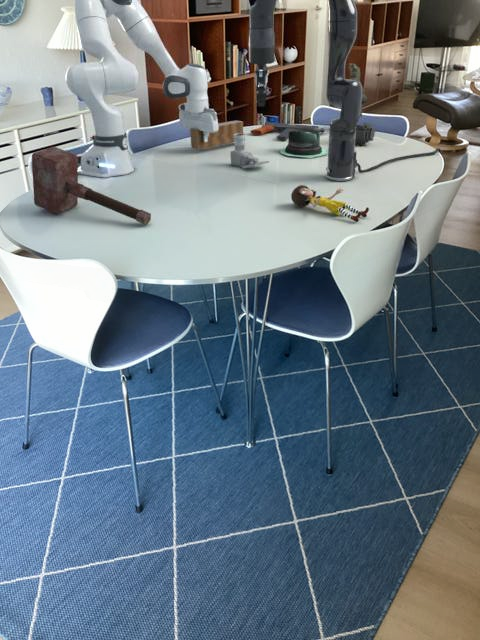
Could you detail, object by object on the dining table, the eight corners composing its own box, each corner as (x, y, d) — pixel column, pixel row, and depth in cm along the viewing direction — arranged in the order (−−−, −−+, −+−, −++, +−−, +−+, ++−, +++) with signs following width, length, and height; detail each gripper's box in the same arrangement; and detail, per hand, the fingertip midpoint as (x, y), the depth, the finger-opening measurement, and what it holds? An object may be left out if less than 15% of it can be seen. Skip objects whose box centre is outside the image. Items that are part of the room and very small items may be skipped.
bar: (197, 149, 236) (196, 130, 232) (191, 147, 239) (190, 128, 235) (243, 140, 250) (243, 121, 246) (236, 138, 253) (236, 120, 249)
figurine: (354, 211, 157) (283, 185, 169) (349, 235, 161) (280, 207, 174) (376, 199, 166) (307, 175, 178) (371, 222, 170) (303, 197, 182)
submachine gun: (244, 131, 261) (267, 121, 279) (244, 137, 262) (267, 127, 281) (306, 137, 247) (327, 126, 266) (306, 143, 248) (326, 132, 267)
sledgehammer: (159, 186, 162) (53, 145, 173) (139, 196, 154) (29, 152, 166) (154, 239, 172) (54, 196, 183) (135, 250, 164) (32, 205, 176)
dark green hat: (332, 145, 241) (326, 158, 224) (294, 164, 249) (286, 177, 233) (317, 113, 235) (310, 124, 219) (279, 133, 244) (269, 145, 228)
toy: (345, 120, 249) (377, 123, 242) (343, 139, 253) (375, 143, 246) (337, 123, 243) (369, 127, 236) (336, 143, 247) (367, 147, 240)
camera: (240, 131, 219) (270, 136, 210) (241, 161, 225) (269, 168, 216) (225, 135, 213) (254, 141, 204) (226, 165, 219) (254, 172, 210)
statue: (367, 132, 266) (374, 63, 251) (349, 133, 264) (355, 64, 249) (357, 127, 275) (362, 61, 260) (339, 129, 273) (344, 62, 258)
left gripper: (221, 108, 226) (222, 142, 233) (186, 103, 238) (188, 136, 245) (210, 110, 222) (211, 145, 229) (175, 105, 234) (178, 138, 241)
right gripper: (274, 47, 156) (273, 108, 164) (274, 43, 168) (274, 100, 177) (247, 47, 157) (248, 108, 165) (250, 43, 169) (250, 100, 177)
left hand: (199, 140), depth 237 cm, fingers closed on bar, 5 cm apart
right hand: (261, 103), depth 171 cm, fingers open, 8 cm apart
